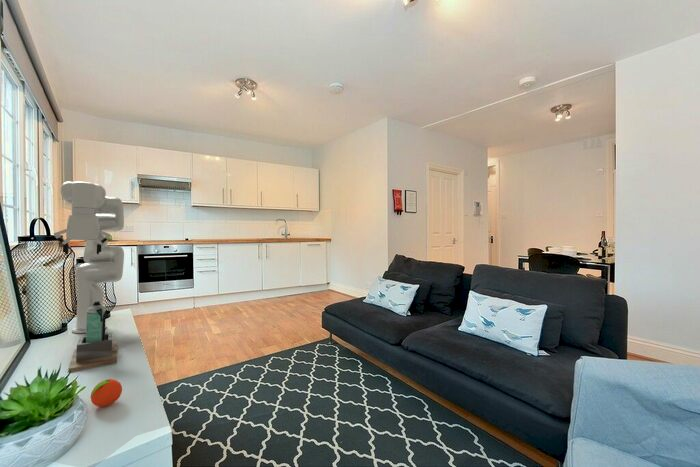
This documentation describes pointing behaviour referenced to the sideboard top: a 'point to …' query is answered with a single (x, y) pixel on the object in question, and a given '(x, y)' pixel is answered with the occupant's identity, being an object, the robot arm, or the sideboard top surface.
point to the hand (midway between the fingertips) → (82, 254)
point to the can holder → (93, 353)
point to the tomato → (106, 393)
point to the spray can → (95, 323)
